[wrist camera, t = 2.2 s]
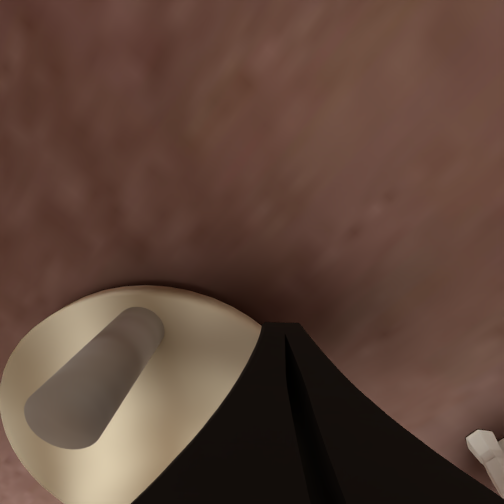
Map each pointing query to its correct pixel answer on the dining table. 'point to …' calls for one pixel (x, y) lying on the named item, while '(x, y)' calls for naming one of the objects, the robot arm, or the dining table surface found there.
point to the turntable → (120, 387)
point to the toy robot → (489, 456)
